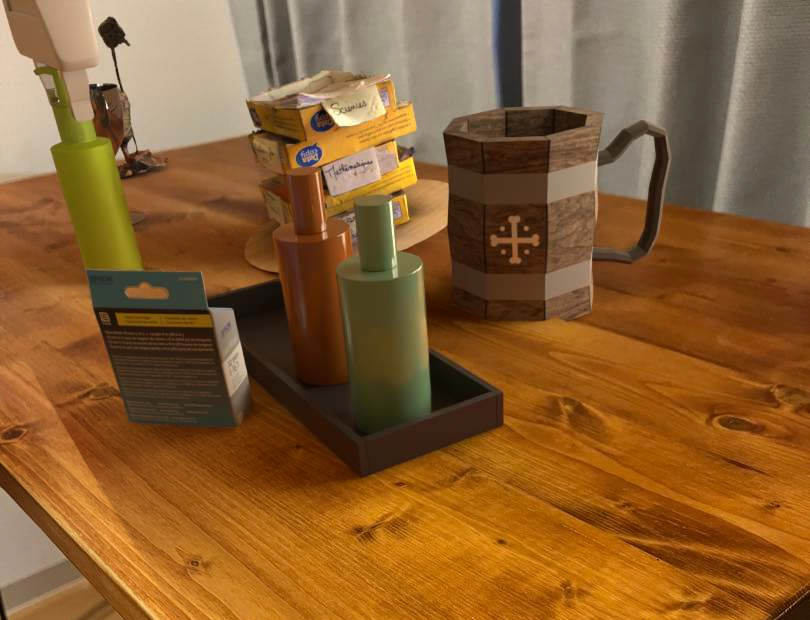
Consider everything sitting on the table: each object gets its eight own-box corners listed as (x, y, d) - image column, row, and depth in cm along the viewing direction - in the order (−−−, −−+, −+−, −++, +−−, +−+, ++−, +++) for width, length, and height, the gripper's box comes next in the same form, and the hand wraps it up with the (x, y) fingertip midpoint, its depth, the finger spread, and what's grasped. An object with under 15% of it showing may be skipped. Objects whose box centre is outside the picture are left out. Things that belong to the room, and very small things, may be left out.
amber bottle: (314, 393, 66) (282, 186, 57) (283, 367, 70) (250, 171, 61) (378, 372, 68) (357, 169, 59) (345, 348, 72) (321, 156, 63)
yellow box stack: (257, 294, 86) (224, 109, 76) (234, 225, 106) (205, 70, 96) (495, 256, 90) (492, 75, 80) (430, 196, 110) (422, 44, 100)
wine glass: (102, 233, 107) (65, 99, 98) (75, 222, 112) (37, 93, 103) (160, 217, 111) (129, 86, 102) (131, 207, 116) (99, 81, 107)
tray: (362, 488, 56) (357, 444, 54) (198, 336, 79) (190, 301, 77) (504, 434, 61) (503, 391, 59) (310, 304, 83) (305, 270, 81)
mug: (467, 340, 74) (461, 150, 65) (434, 285, 84) (425, 116, 76) (688, 308, 76) (712, 119, 67) (629, 258, 86) (642, 91, 78)
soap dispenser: (121, 258, 99) (67, 58, 87) (153, 270, 94) (101, 62, 83) (74, 274, 95) (11, 68, 84) (105, 287, 91) (43, 73, 79)
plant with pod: (95, 171, 134) (54, 21, 122) (169, 161, 136) (136, 12, 124) (93, 184, 128) (50, 27, 116) (171, 172, 130) (136, 17, 118)
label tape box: (258, 412, 66) (226, 250, 59) (238, 439, 63) (201, 271, 56) (152, 407, 68) (108, 249, 61) (127, 433, 65) (78, 270, 58)
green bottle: (378, 446, 59) (353, 220, 50) (340, 415, 63) (311, 200, 54) (447, 421, 61) (436, 199, 52) (407, 392, 65) (389, 182, 56)
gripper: (-32, -52, 84) (19, 106, 92) (7, -53, 69) (63, 135, 77) (34, -59, 86) (78, 95, 94) (86, -62, 71) (132, 121, 80)
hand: (72, 113), depth 86 cm, fingers open, 8 cm apart
